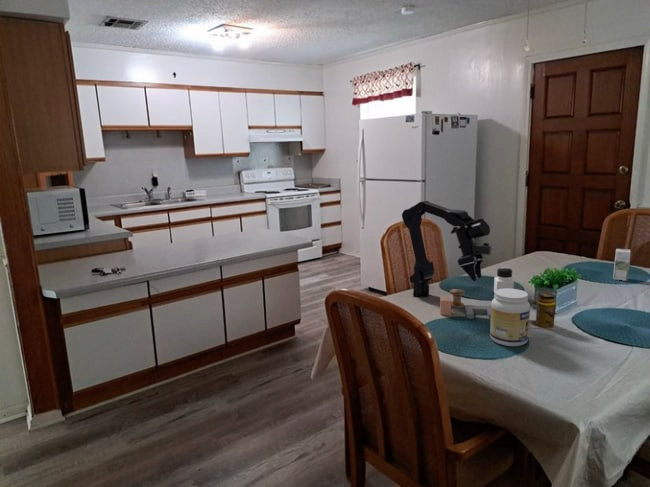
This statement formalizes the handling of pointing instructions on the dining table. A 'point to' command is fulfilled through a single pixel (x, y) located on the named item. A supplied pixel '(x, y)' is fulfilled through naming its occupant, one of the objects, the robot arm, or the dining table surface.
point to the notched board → (477, 310)
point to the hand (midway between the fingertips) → (477, 279)
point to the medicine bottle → (503, 279)
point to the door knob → (457, 298)
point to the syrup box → (621, 264)
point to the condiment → (544, 312)
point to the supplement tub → (510, 317)
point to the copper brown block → (445, 306)
